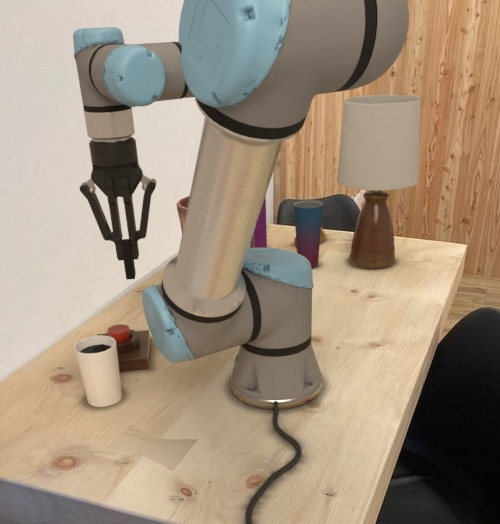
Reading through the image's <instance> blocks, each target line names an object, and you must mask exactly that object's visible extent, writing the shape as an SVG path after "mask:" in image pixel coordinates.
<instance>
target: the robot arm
mask: <svg viewBox="0 0 500 524" xmlns="http://www.w3.org/2000/svg"><path fill="white" fill-rule="evenodd" d="M409 23H410V10H409V2H408V0H183V3H182V6H181V11H180V16H179V25H178V41H163V42H148V43H146V42H144V43H130V44H125V41H124V34H123V32H122V30H121V28H119V27H115V26H109V27H108V26H107V27H106V26H105V27H102V26H101V27H87V28H85V27H83V28H78V29H75V31H74V32H73V35H72V42H73V51H74V53H73V58H74V60H75V65H76V70H77V78H78V82H79V89H80V96H81V101H82V102H81V103H82V105H83V107H82V108H83V115H84V122H85V129H86V134H87V137H88V138H90V141H89V142H88V147H89V154H90V160H91V165H92V170H91V173H90V178H89V179H87V180H86V181H84V182H82V183H81V185H80V186H79V192H80V193H81V194H82V195H83V197H84V198H85V199H86V200H87V202H88V204H89V207H90V210H91V212H92V214H93V216H94V219H95V221H96V224H97V227H98V229H99V231H100V233H101V236H102V239H103V240H104V241H109V242H112V243H114V245H115V246H114V247H115V253H116V258H117V260H118V261H123V266H124V274H125V279H126V280H135V279H136V274H137V272H136V266H135V260H139V258H140V257H139V256H140V250H139V249H140V248H139V242H138V241H139V240H141V239H142V240H143V239H146V237H147V232H148V225H149V217H150V208H151V202H152V200H151V199H152V195H153V193H154V191H155V189H156V188H157V180H156V179H155V178H150V177H148V176H147V175H144V172H143V169H142V168H141V166H140V164H139V156H138V147H137V140H136V139H135V138H134V137H133V135H135V134H136V133H135V132H136V131H135V124H134V114H133V108H135V107H147V106H150V105H153V103H155V102H165V101H174V100H182V99H187V98H194V101H195V103H196V106H197V107H198V110H199V111H200V112H201V114H202V115H203V117H204V120H203V125H202V130H201V135H200V140H199V145H198V151H197V156H196V161H195V165H194V171H193V177H192V182H191V186H190V191H189V196H190V197H189V202H188V207H187V212H186V217H185V223H184V228H183V233H182V232H181V239H180V243H179V248H178V254H177V255H176V256H174V257H173V258H172V259H171V260H169V262H168V263H167V264H166V265H165V267H164V270H163V273H162V277H161V283H159V284H156V285H155V283H154V284H151V285H150V286H148V287H146V288H144V290H143V291H142V294H141V302H142V303H141V304H142V308H143V309H142V310H143V314H144V317H145V321H146V324H147V327H148V330H149V333H150V336H151V337H152V339H153V341H154V343H155V345H156V347H157V349H158V351H159V352H160V354H161V355H162V356H163V357H164V358H165V359H166V360H167V361H169V362H171V363H173V364H179V363H183V362H187V361H188V362H189V361H191V362H193V361H195V360H197V359H200V358H204V357H207V356H209V355H210V356H211V355H213V354H216V353H219V352H222V351H226V350H230V349H232V348H235V347H238V346H239V348H238V352H237V354H236V355H235V359H234V362H233V363H234V364H233V365H234V366H233V369H232V373H231V377H230V383H231V391H232V393H233V395H234V396H235V397H236V399H238V400H239V401H240V402H242V403H244V404H246V405H248V406H251V407H255V408H259V409H266V410H273V412H272V413H273V415H272V425H273V428H274V429H275V431H276V432H277V433H278V434H279V436H281V437H282V438H284V439H285V440H287V441H288V442H289V443H291V444H292V445H293V446H294V448H295V451H296V453H295V456H294V457H293V459H291V460H290V461H289V462H287V464H285V465H283V466H282V467H281V468H279V469H278V470H276V471H274V472H273V473H272V474H270V476H269V477H268V478H267V479H265V481H264V482H263V483H262V485H261V486H260V487H259V488H258V490H257V491H256V492H255V493H254V495H253V496H252V497H251V499H250V501H249V503H248V505H247V508H246V511H245V524H253V522H252V515H253V514H252V512H253V509H254V507H255V505H256V504H257V501H258V500H259V499H260V497H261V496H262V495H263V493H264V492H265V491H266V490H267V489H268V488H269V486H270V485H271V484H272V482H274V481H275V480H276V479H277V478H278V477H279V476H281V475H282V474H284V473H285V472H287V471H289V470H290V469H292V468H293V467H294V466H295V465H296V464H297V463H298V462H299V460H300V458H301V456H302V448H301V447H302V446H301V445H300V443H299V442H298V441H297V440H296V439H295V438H294V437H292V436H290V435H289V434H288V433H286V432H285V431H284V430H282V428H281V427H280V426H279V424H278V418H279V410H283V409H292V408H295V407H299V406H303V405H305V404H307V403H309V402H311V401H313V400H314V399H315V398H316V397H317V396H319V394H320V393H321V390H322V385H323V377H322V376H323V375H322V372H321V369H320V368H321V367H320V366H319V362H318V359H317V357H316V354H315V351H314V348H313V345H312V330H313V327H312V325H313V324H312V323H313V322H312V321H313V288H314V282H313V280H314V279H313V268H312V267H311V264H310V262H309V261H308V260H307V259H306V258H305V257H304V256H302V255H300V254H298V253H297V252H295V251H292V250H288V249H283V248H278V247H277V248H276V247H266V248H249V246H250V243H251V239H252V236H253V233H254V230H255V227H256V224H257V221H258V218H259V214H260V211H261V208H262V205H263V202H264V199H265V196H266V195H267V194H268V193H267V192H268V189H269V186H270V183H271V180H272V177H273V173H274V170H275V168H276V164H277V162H278V158H279V155H280V152H281V148H282V145H283V144H284V143H283V142H284V141H286V140H289V139H292V138H293V137H295V136H296V135H298V134H299V132H301V130H302V129H303V127H304V125H305V122H306V119H307V117H308V114H309V111H310V109H311V105H312V102H313V100H314V98H315V97H316V96H317V95H325V94H331V93H338V92H345V91H351V90H352V91H353V90H356V89H358V88H362V87H365V86H368V85H369V84H371V83H373V82H375V81H377V80H378V79H380V78H381V77H382V76H384V74H385V73H387V72H388V71H389V70H390V69H391V67H392V66H393V65H394V64H395V62H396V61H397V60H398V58H399V56H400V54H401V52H402V51H403V48H404V46H405V43H406V40H407V36H408V31H409V27H410V25H409ZM140 183H141V189H142V190H143V192H144V193H143V197H142V198H143V199H142V205H141V206H142V207H141V214H140V221H139V222H140V224H139V229H138V230H137V225H136V216H135V210H134V209H135V208H134V201H133V194H134V193H135V191H136V190H137V188H138V186H139V184H140ZM96 187H97V188H98V189H99V190H100V191H101V192H102V193H103V194H104V195H105V196H106V197H107V203H108V209H109V214H110V222H111V228H112V229H111V228H110V225H109V223H108V220H107V217H106V215H105V212H104V210H103V208H102V205H101V203H100V200H99V197H98V195H97V193H96V191H97V188H96ZM266 197H267V196H266ZM118 198H122V201H123V205H124V212H125V219H126V228H127V233H128V234H127V235H128V238H123V236H124V235H123V231H122V230H123V229H122V223H121V215H120V209H119V202H118Z"/></svg>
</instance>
